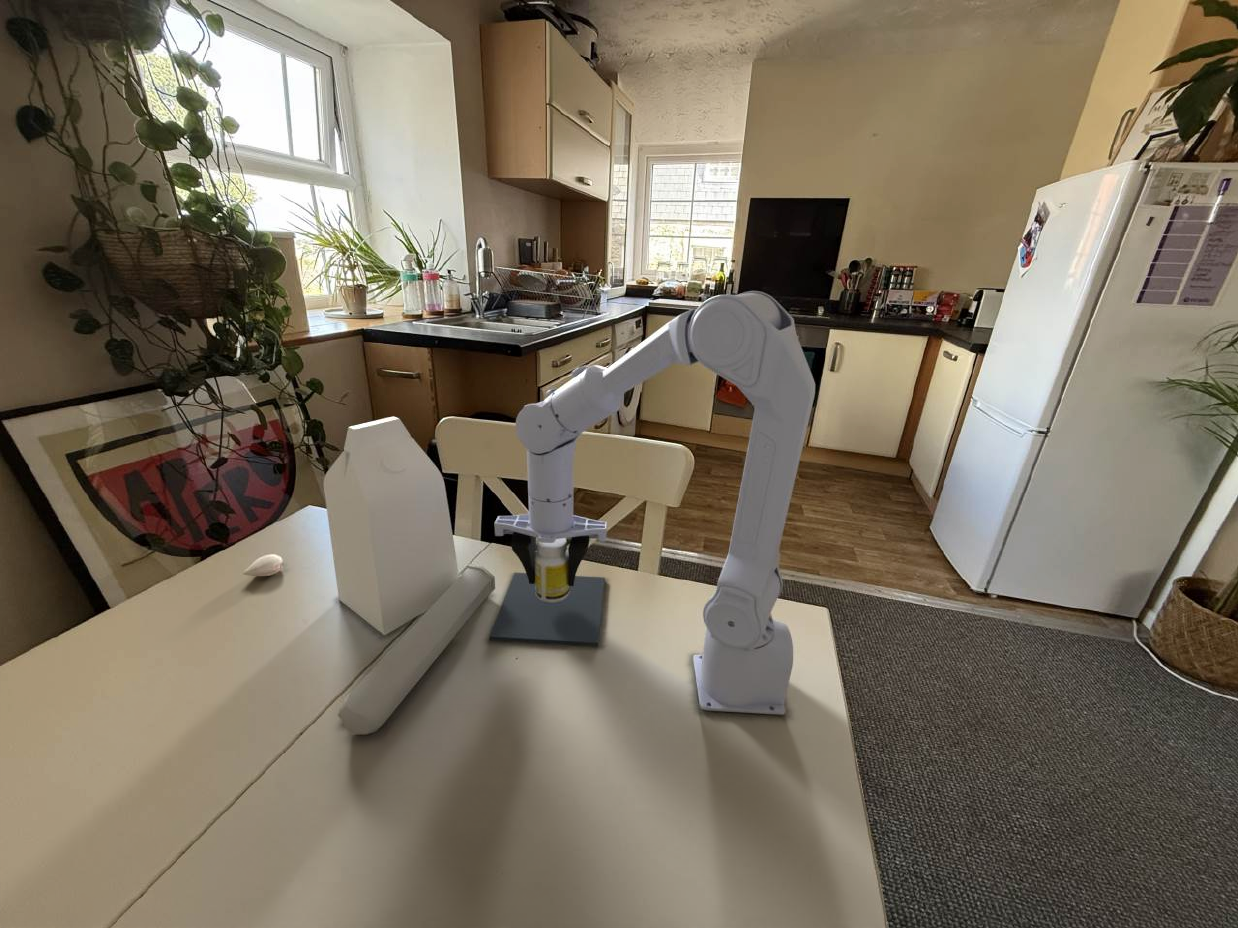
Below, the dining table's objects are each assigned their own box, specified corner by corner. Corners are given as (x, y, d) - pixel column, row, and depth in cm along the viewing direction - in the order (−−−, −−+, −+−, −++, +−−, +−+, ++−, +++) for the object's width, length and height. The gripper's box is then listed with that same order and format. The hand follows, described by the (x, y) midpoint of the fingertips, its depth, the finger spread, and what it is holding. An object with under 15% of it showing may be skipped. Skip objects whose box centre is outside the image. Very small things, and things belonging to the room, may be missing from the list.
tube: (376, 723, 48) (500, 574, 70) (329, 698, 48) (466, 558, 70) (370, 754, 50) (491, 601, 72) (324, 730, 50) (459, 584, 73)
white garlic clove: (288, 572, 75) (285, 558, 74) (249, 587, 71) (245, 573, 70) (279, 561, 77) (275, 547, 76) (241, 575, 74) (236, 560, 73)
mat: (604, 580, 76) (604, 577, 76) (598, 646, 64) (598, 642, 63) (514, 575, 77) (514, 572, 76) (489, 640, 64) (489, 636, 63)
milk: (415, 561, 79) (393, 404, 69) (461, 590, 73) (445, 421, 63) (338, 599, 70) (300, 423, 60) (384, 635, 64) (350, 446, 54)
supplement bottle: (575, 588, 70) (576, 537, 67) (558, 607, 66) (558, 554, 63) (547, 578, 72) (546, 528, 69) (528, 596, 68) (526, 544, 65)
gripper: (485, 503, 59) (492, 595, 65) (606, 510, 59) (602, 602, 64) (500, 479, 66) (505, 564, 71) (609, 484, 66) (605, 570, 71)
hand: (552, 580), depth 68 cm, fingers closed on supplement bottle, 5 cm apart
